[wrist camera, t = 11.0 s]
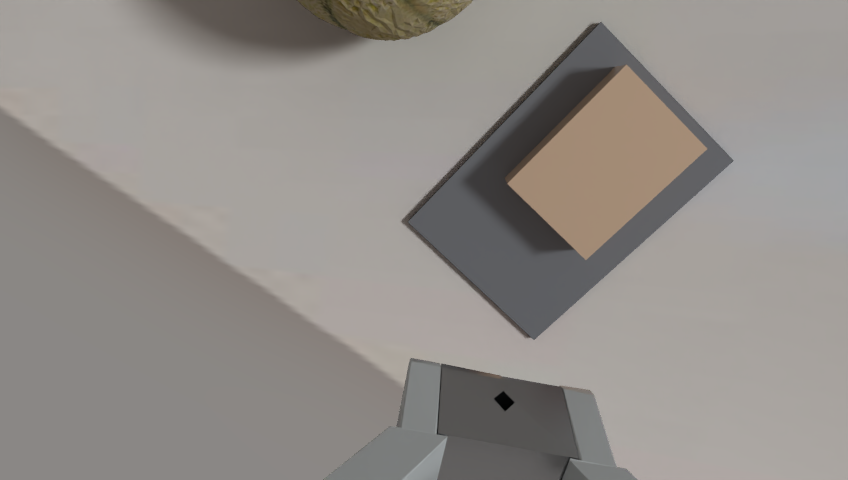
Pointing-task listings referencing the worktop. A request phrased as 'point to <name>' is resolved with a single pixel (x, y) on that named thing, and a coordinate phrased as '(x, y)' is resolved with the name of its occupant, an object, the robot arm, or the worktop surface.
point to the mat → (521, 225)
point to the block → (605, 161)
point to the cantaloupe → (386, 15)
